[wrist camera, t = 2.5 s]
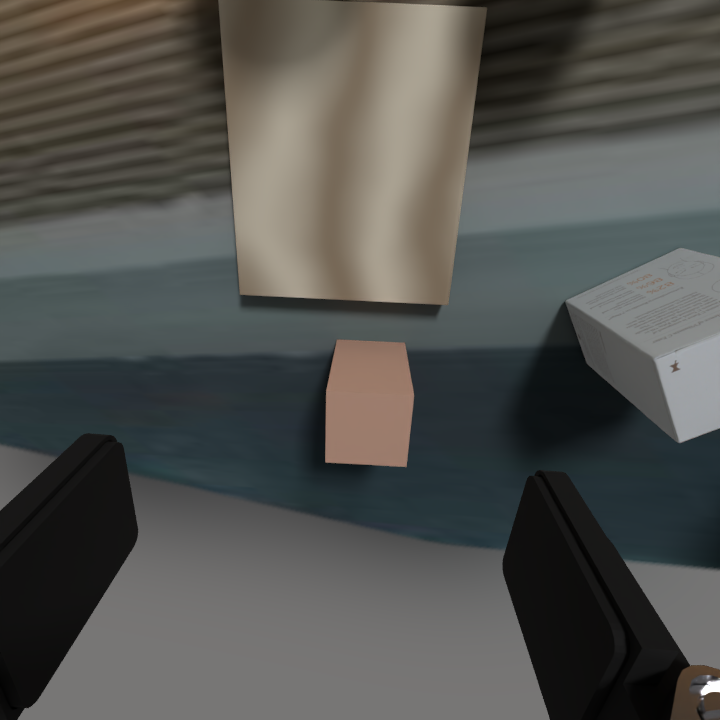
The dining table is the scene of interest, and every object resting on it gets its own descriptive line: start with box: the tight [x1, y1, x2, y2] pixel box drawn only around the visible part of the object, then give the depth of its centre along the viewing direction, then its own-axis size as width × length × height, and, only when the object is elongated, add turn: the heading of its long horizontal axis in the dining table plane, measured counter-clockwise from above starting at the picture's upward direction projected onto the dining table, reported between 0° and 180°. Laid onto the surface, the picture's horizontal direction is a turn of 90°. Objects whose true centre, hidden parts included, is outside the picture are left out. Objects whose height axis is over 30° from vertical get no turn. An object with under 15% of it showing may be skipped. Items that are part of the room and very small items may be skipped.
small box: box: [565, 248, 720, 443], centre depth 25 cm, size 8×6×10 cm
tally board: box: [218, 0, 487, 305], centre depth 26 cm, size 14×16×2 cm
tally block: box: [325, 340, 414, 467], centre depth 29 cm, size 5×5×8 cm
